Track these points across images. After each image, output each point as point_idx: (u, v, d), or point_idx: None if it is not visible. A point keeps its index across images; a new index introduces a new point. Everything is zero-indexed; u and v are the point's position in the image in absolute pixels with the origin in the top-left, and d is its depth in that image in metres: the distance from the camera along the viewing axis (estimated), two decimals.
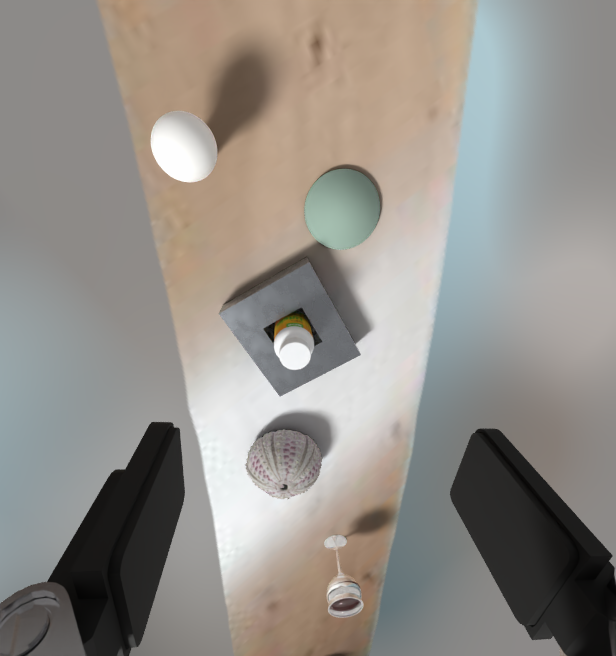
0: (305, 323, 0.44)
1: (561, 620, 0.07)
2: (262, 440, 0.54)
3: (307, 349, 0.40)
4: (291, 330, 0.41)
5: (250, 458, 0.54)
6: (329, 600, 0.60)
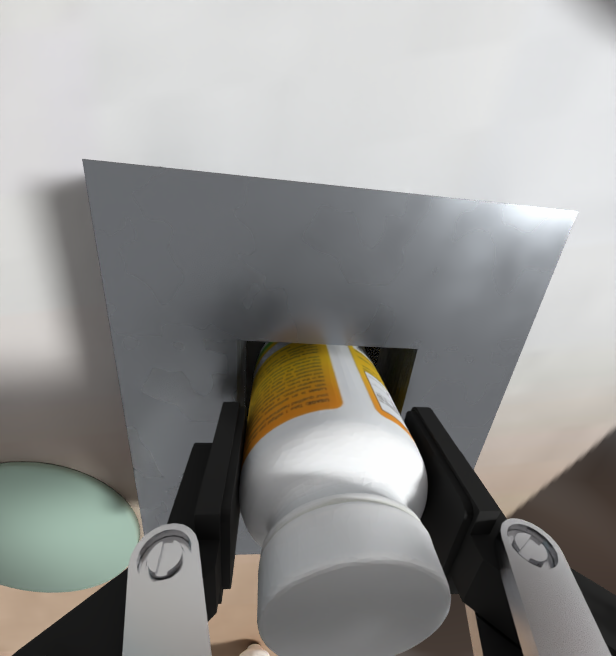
0: None
1: (461, 572, 0.08)
2: None
3: (266, 626, 0.06)
4: None
5: None
6: None
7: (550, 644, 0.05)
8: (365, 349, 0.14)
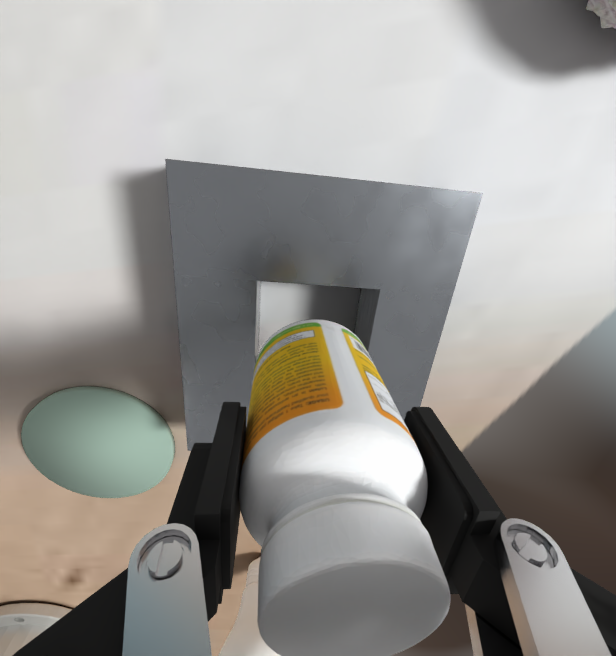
0: None
1: (461, 572, 0.08)
2: None
3: (266, 625, 0.06)
4: None
5: None
6: None
7: (550, 644, 0.05)
8: (365, 348, 0.14)
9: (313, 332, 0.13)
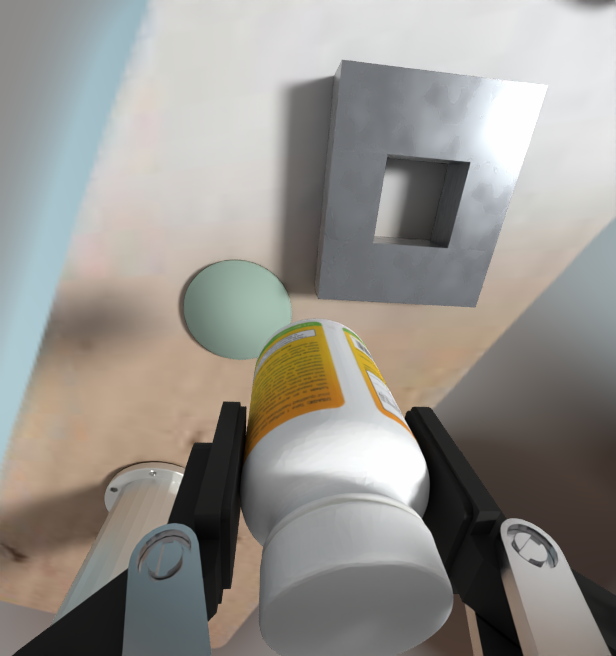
0: None
1: (461, 572, 0.08)
2: None
3: (268, 626, 0.06)
4: None
5: None
6: None
7: (550, 644, 0.05)
8: None
9: (314, 331, 0.13)
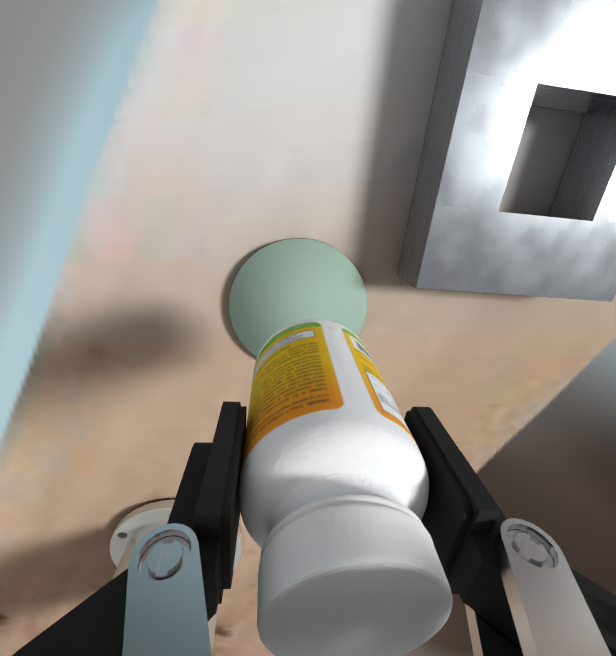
0: None
1: (461, 572, 0.08)
2: None
3: (266, 629, 0.06)
4: None
5: None
6: None
7: (550, 644, 0.05)
8: None
9: (313, 331, 0.13)
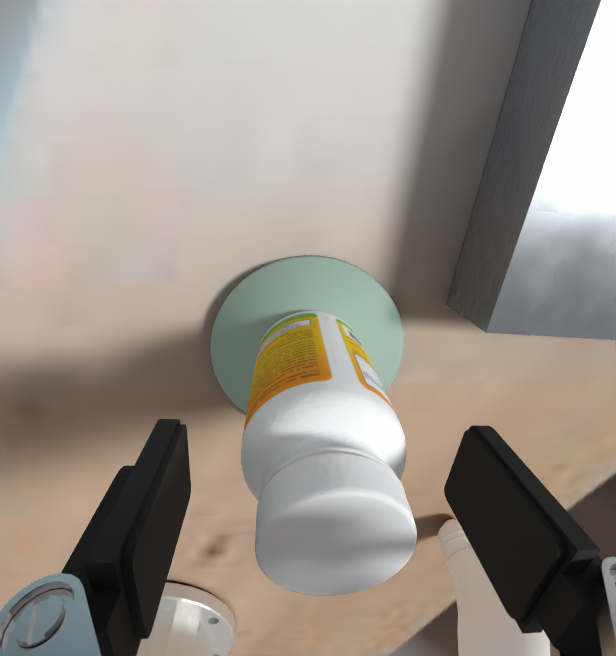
0: None
1: (550, 613, 0.07)
2: None
3: (262, 551, 0.08)
4: None
5: None
6: None
7: None
8: None
9: (309, 321, 0.14)
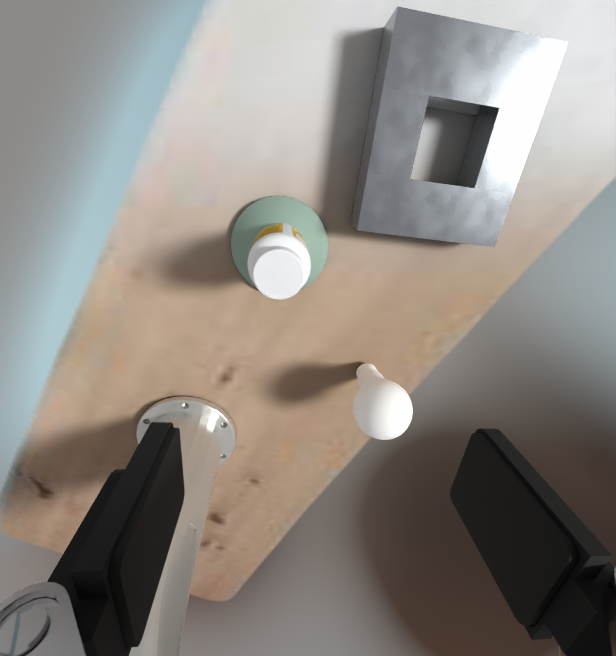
0: None
1: (561, 620, 0.07)
2: None
3: (255, 273, 0.24)
4: None
5: None
6: None
7: None
8: None
9: (278, 224, 0.31)
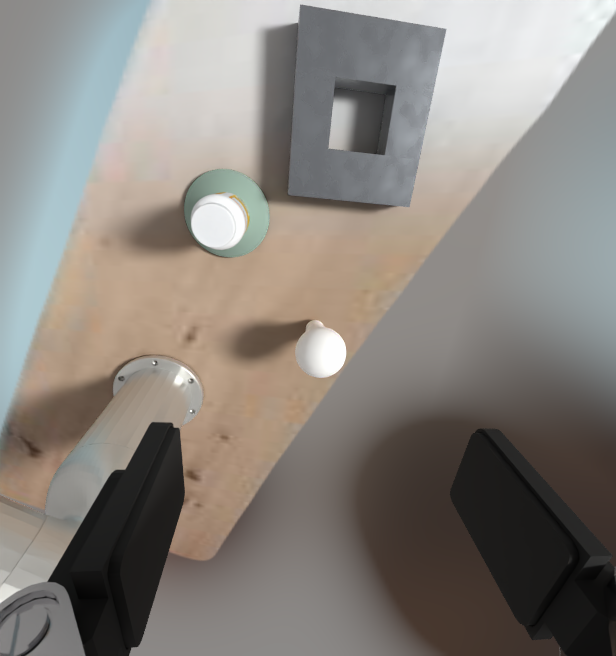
0: None
1: (561, 620, 0.07)
2: None
3: (192, 224, 0.29)
4: None
5: None
6: None
7: None
8: (245, 204, 0.37)
9: (222, 192, 0.36)
